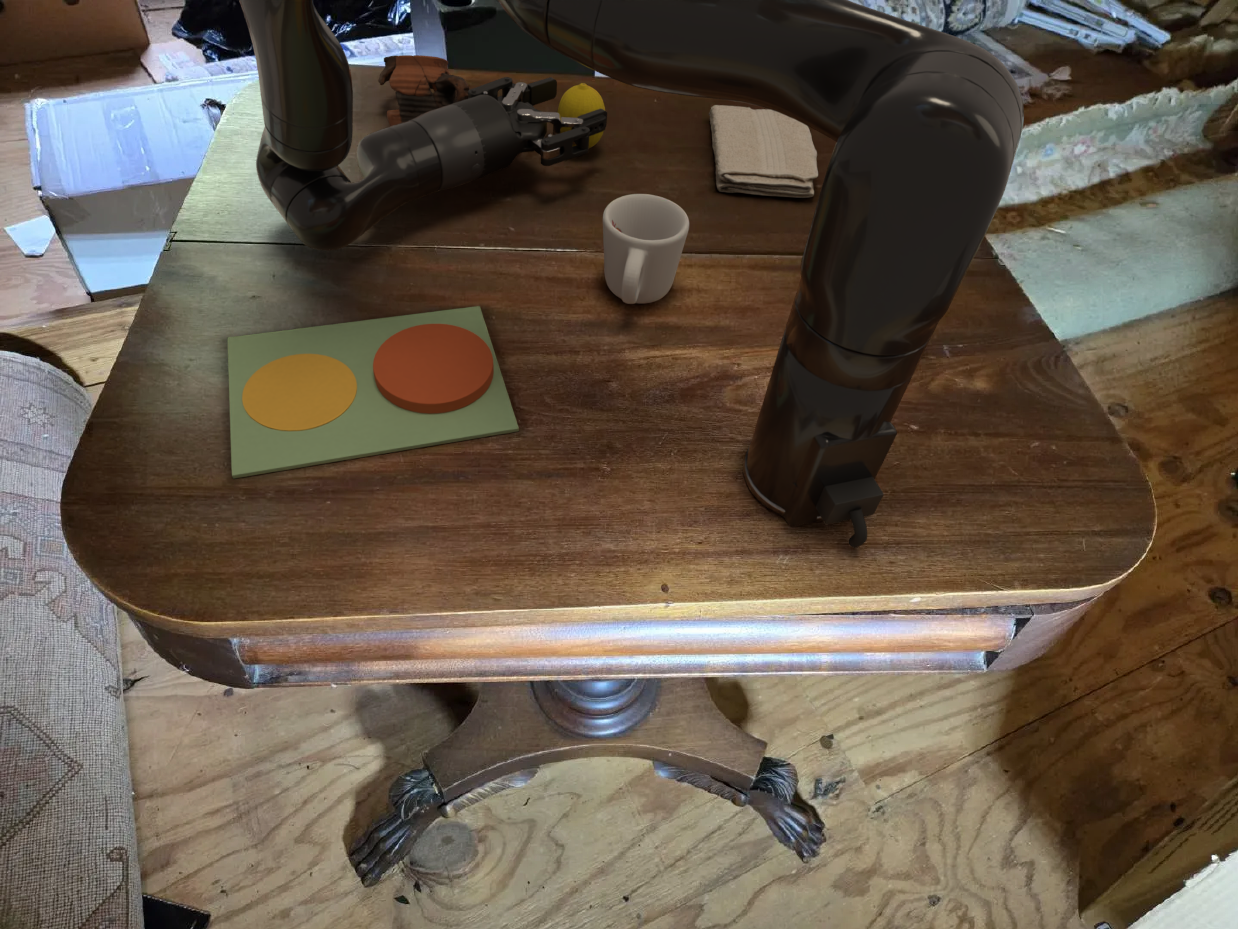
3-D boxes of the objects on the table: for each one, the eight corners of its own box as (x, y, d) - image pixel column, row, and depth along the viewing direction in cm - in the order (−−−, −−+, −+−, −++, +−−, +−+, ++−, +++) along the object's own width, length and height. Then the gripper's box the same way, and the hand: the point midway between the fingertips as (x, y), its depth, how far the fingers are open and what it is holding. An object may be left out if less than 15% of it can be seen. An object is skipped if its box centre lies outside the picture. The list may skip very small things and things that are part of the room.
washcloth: (715, 196, 96) (720, 171, 93) (704, 118, 108) (709, 94, 105) (818, 204, 97) (826, 179, 94) (797, 125, 108) (803, 102, 106)
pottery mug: (364, 131, 99) (358, 53, 96) (412, 135, 107) (408, 64, 105) (452, 131, 95) (449, 50, 92) (495, 136, 103) (493, 61, 101)
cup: (665, 339, 79) (677, 268, 73) (582, 322, 80) (587, 250, 74) (683, 271, 86) (695, 201, 80) (606, 256, 87) (612, 186, 81)
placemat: (518, 431, 70) (518, 418, 69) (232, 478, 64) (227, 465, 63) (479, 309, 80) (479, 295, 78) (228, 340, 74) (223, 326, 73)
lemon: (602, 165, 98) (607, 97, 92) (554, 161, 98) (556, 93, 92) (603, 141, 102) (609, 74, 96) (557, 137, 101) (559, 69, 95)
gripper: (501, 139, 81) (625, 95, 89) (416, 79, 87) (539, 43, 95) (502, 208, 87) (619, 161, 95) (422, 147, 93) (538, 108, 101)
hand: (579, 102), depth 95 cm, fingers open, 8 cm apart
